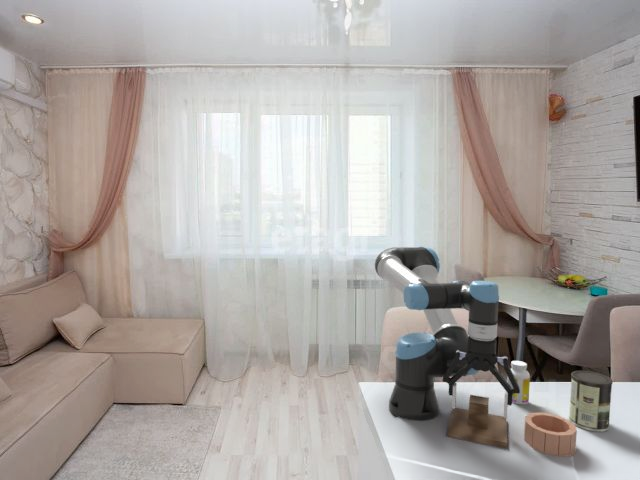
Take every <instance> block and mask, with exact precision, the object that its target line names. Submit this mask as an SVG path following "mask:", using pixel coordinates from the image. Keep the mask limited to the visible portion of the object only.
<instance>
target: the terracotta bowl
mask: <svg viewBox="0 0 640 480" xmlns="http://www.w3.org/2000/svg"><path fill="white" fill-rule="evenodd" d="M576 427H577V426H576V425H574V424H573V423H571V422H570V420H569V419H566V418H565V417H562V416H559V415H556V414H553V413H548V412H530V413H528V414H527V415H525V416H524V430H523V431H524V433H523V437H524V438H523V439H524V442H525V443H526V444H527V445H529V447H531V448H533V449H535V450H537V451H539V452H541V453H543V454H547V455H551V456H557V457H558V456H559V457H562V456H563V457H565V456H566V457H567V456H570V457H572V456H573V455H575V454H576V448H577V447H576V445H577V436H578V435H577V434H578V431H577V428H576Z"/></svg>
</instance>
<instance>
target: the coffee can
mask: <svg viewBox="0 0 640 480" xmlns="http://www.w3.org/2000/svg"><path fill="white" fill-rule="evenodd" d="M570 375H571V380H570V381H571V385H570V401H569V402H570V403H569V416H568V420H569V421H570V422H571V423H573V424H574V425H575V427H577V428H580V429H584V430H586V431H590V432H599V433H602V432H607V431H608V430H609V429H610V414H611V413H610V411H611V403H612V399H611V398H612V386H613V381H614V380H613V379H612V378H611V377H609V376H608V375H605V374H602V373H600V372H595V371H590V370H575V371H572V372H571V374H570Z"/></svg>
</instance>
